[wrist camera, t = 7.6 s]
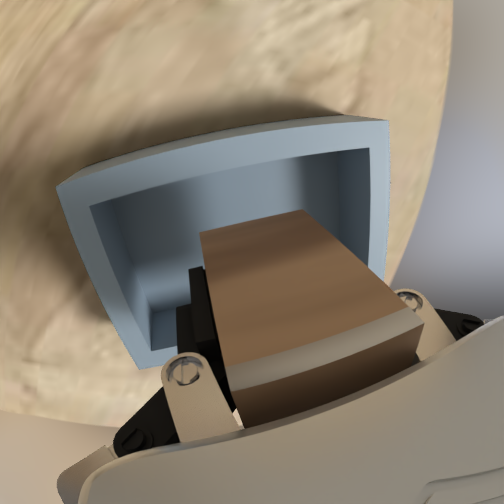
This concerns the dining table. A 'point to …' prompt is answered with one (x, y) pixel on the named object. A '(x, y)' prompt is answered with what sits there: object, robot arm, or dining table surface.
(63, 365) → the dining table surface
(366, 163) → the container
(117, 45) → the dining table surface
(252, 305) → the wooden rectangular block
